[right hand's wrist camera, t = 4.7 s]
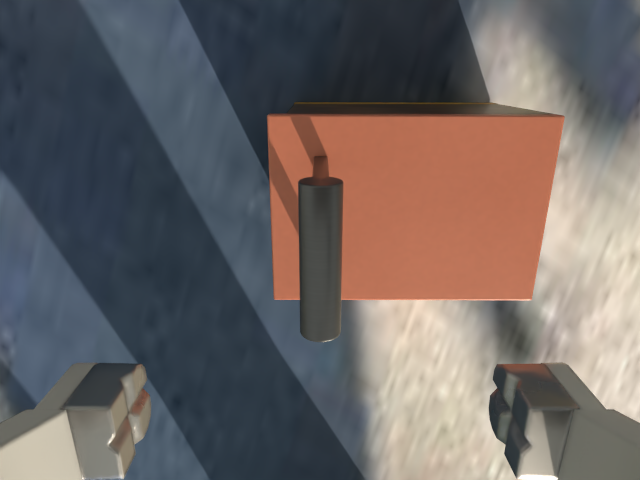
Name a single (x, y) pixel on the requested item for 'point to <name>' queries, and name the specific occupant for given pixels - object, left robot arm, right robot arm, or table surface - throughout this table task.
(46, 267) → the table surface
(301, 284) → the lid
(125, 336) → the table surface
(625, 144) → the table surface
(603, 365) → the table surface
